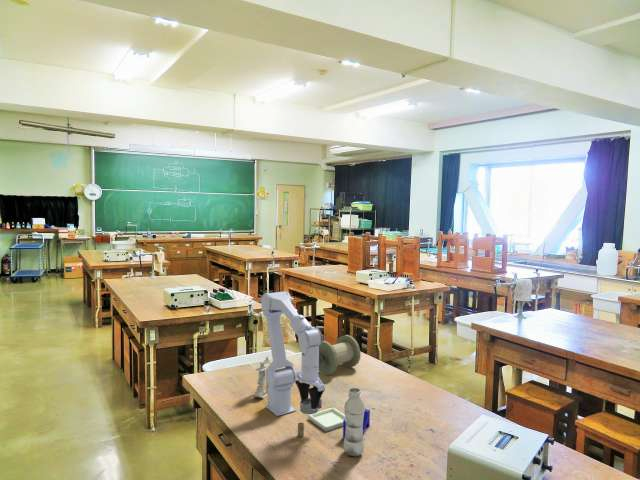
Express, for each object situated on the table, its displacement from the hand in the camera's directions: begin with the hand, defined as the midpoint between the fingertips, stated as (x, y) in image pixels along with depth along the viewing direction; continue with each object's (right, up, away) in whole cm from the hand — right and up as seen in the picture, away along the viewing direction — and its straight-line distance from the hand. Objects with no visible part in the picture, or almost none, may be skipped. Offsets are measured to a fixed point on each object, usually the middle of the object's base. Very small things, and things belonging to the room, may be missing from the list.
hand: (309, 404), depth 149 cm
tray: (+7, -9, +8) cm, 14 cm away
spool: (+11, -6, +58) cm, 60 cm away
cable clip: (+17, -10, 0) cm, 19 cm away
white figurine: (-20, -7, +28) cm, 35 cm away
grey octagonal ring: (0, -2, 0) cm, 2 cm away
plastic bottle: (+14, -11, -13) cm, 22 cm away
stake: (-3, -10, -2) cm, 10 cm away
